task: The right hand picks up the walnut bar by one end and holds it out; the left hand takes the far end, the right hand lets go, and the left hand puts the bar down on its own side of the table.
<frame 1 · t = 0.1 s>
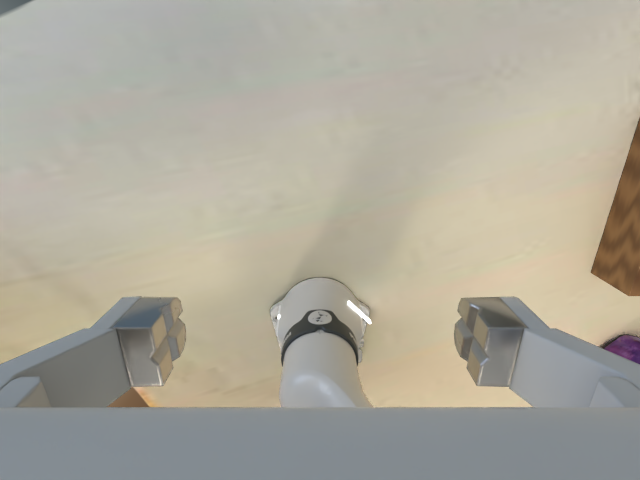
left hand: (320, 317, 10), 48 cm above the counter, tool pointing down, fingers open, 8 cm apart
bar: (628, 198, 58), on the counter
figurine: (624, 349, 69), on the counter
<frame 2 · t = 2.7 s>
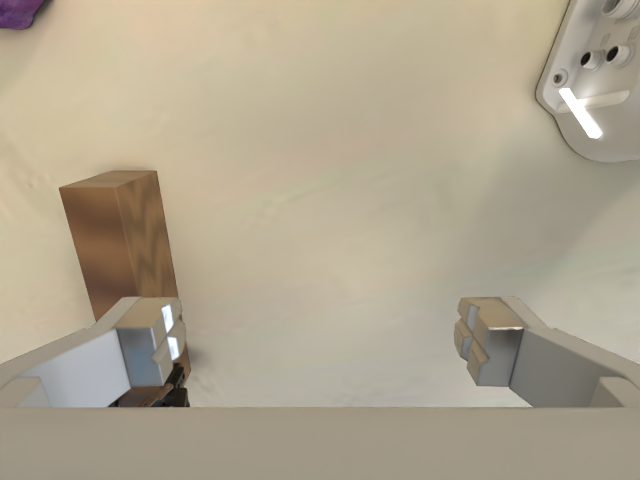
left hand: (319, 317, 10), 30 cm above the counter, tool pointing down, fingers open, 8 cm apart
bar: (155, 282, 43), on the counter, touching right hand
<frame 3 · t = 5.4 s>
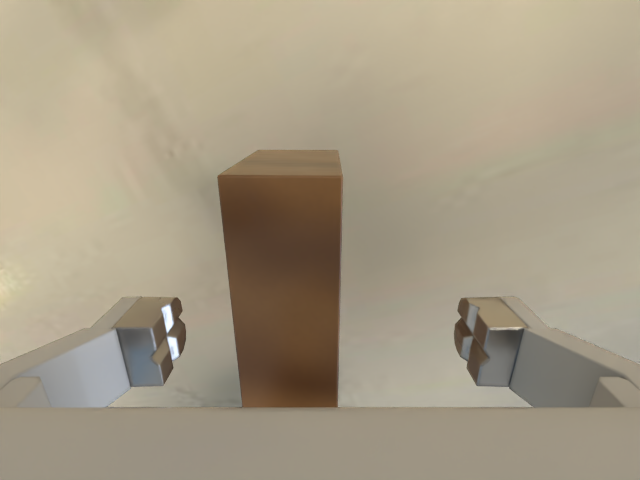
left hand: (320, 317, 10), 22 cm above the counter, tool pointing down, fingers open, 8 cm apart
bar: (302, 336, 26), point 9 cm above the counter, touching right hand
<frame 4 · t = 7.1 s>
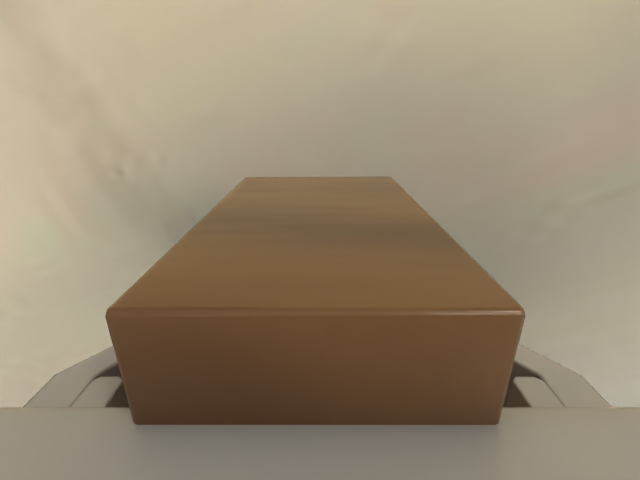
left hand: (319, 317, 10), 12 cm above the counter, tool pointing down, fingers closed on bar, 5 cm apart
bar: (319, 462, 17), point 9 cm above the counter, touching left hand, right hand
when the right hand's fingers open (13 cm above the counter, at t = 8.2 s): bar stays where it is, held by the left hand.
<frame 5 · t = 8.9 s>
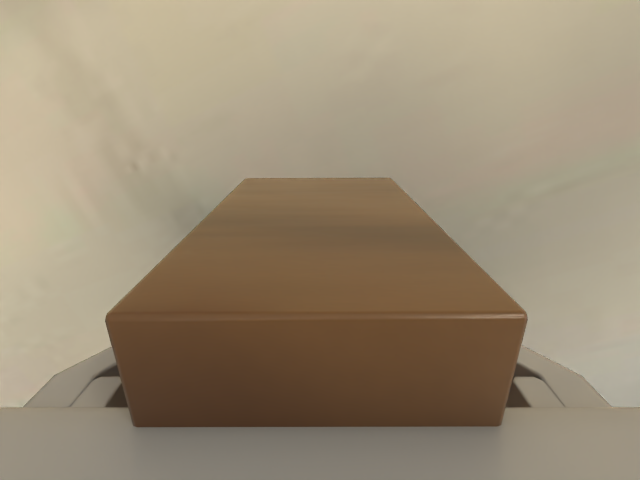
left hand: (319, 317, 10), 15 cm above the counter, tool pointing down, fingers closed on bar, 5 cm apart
bar: (319, 463, 17), point 12 cm above the counter, touching left hand
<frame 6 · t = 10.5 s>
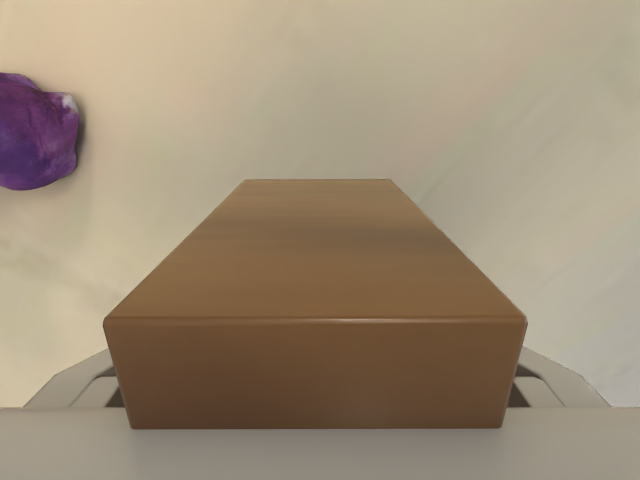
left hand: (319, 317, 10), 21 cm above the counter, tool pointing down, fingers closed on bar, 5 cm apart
bar: (319, 465, 17), point 18 cm above the counter, touching left hand
figurine: (30, 141, 28), on the counter
when the left hand's fingers open (5 cm above the counter, at t = 13.9 s): bar drops 1 cm, on the counter.
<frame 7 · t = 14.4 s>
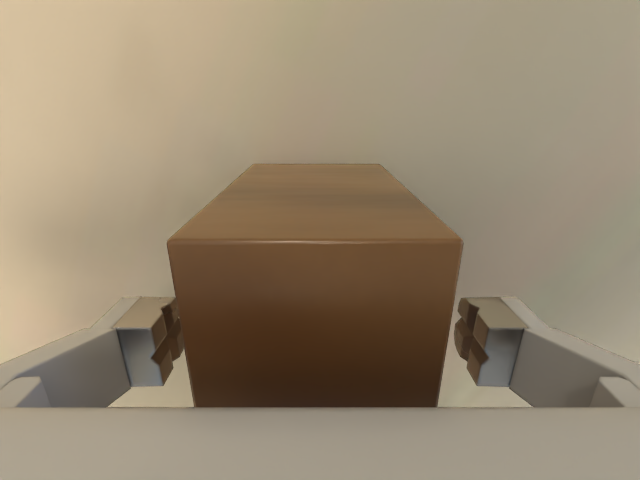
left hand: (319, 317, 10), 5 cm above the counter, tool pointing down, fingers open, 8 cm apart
bar: (317, 427, 18), on the counter
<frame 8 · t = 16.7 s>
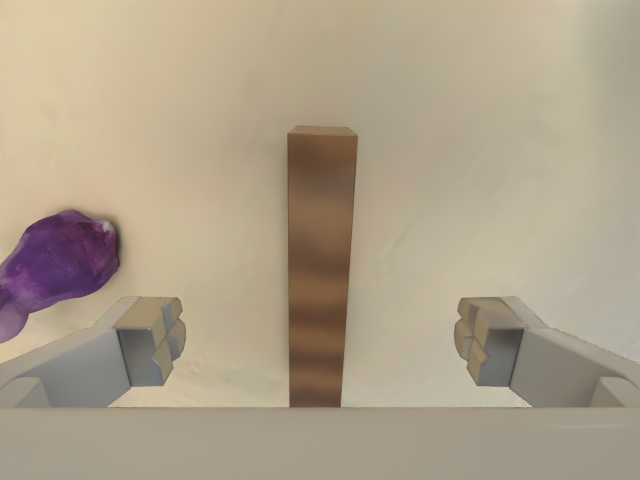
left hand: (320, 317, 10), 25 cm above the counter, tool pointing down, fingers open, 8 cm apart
bar: (318, 262, 37), on the counter
figurine: (82, 253, 37), on the counter
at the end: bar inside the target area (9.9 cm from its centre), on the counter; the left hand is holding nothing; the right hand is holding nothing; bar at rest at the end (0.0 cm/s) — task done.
